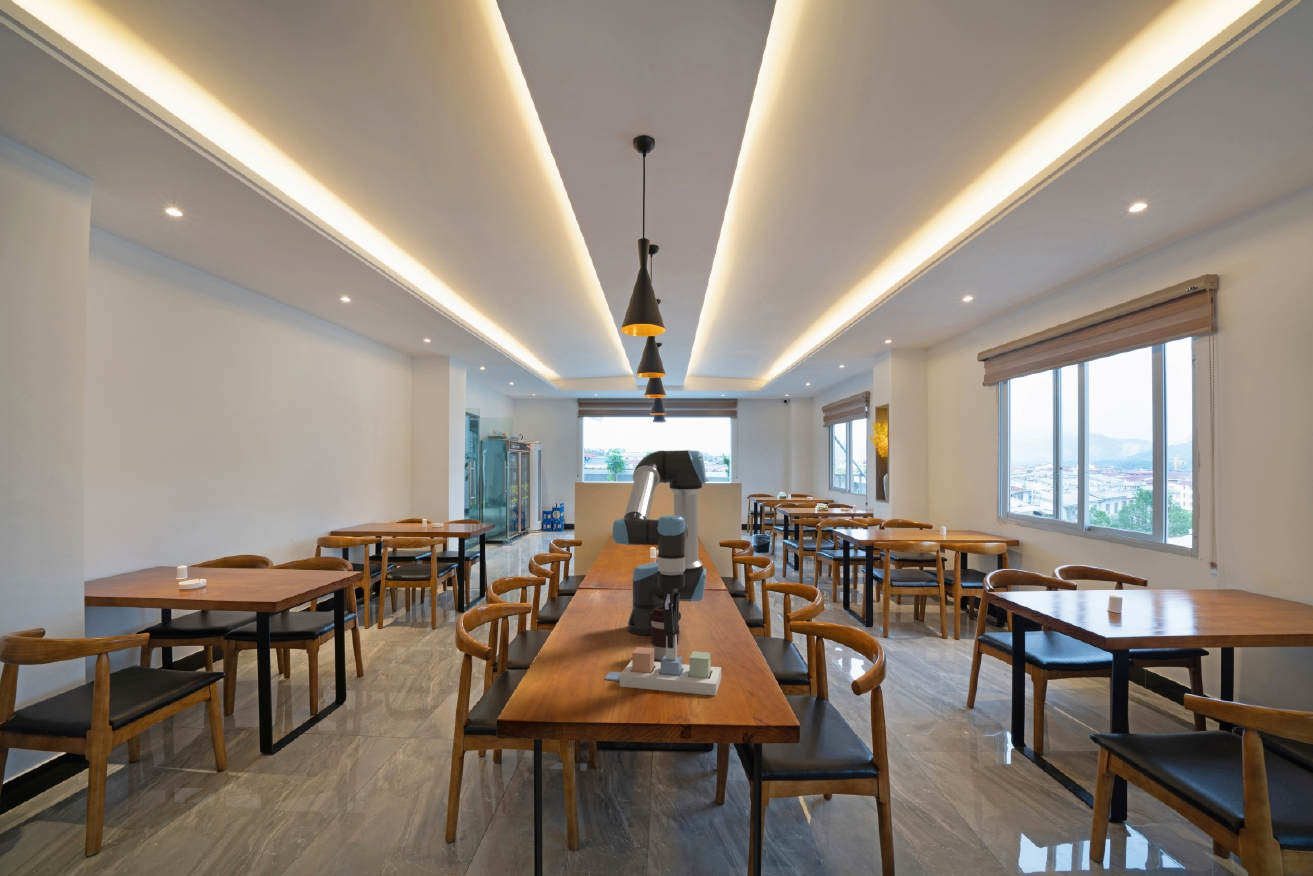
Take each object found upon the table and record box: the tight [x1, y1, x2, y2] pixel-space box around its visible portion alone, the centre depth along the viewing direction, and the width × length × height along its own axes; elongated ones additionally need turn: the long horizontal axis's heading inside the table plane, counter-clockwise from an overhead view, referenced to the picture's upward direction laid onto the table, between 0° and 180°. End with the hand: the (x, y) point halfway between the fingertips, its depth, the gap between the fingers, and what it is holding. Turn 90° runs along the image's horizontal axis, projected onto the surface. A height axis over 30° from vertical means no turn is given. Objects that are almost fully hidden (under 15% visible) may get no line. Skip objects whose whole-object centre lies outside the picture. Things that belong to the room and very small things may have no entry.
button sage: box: [689, 651, 712, 679], centre depth 153 cm, size 5×5×5 cm
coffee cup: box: [649, 606, 682, 661], centre depth 175 cm, size 10×10×15 cm
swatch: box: [604, 671, 622, 682], centre depth 158 cm, size 5×5×1 cm
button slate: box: [660, 656, 683, 676], centre depth 155 cm, size 5×5×5 cm
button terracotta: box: [631, 646, 655, 673], centre depth 157 cm, size 5×5×5 cm
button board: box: [619, 659, 722, 697], centre depth 155 cm, size 12×26×3 cm, turn 77°
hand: (671, 658), depth 155 cm, fingers closed
